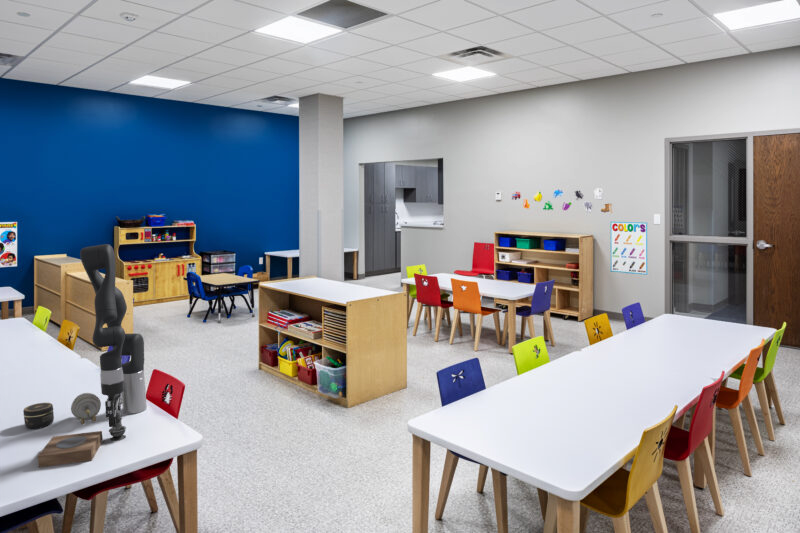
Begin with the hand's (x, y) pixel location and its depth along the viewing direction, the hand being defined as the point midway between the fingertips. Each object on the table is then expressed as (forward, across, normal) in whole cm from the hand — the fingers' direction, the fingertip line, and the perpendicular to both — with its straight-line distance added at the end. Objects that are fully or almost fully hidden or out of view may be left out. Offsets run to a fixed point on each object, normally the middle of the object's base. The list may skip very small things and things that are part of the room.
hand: (115, 422), depth 204 cm
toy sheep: (+6, -23, -16) cm, 29 cm away
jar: (+7, -24, -33) cm, 41 cm away
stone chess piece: (+7, 0, 0) cm, 7 cm away
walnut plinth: (+7, +9, -12) cm, 17 cm away
